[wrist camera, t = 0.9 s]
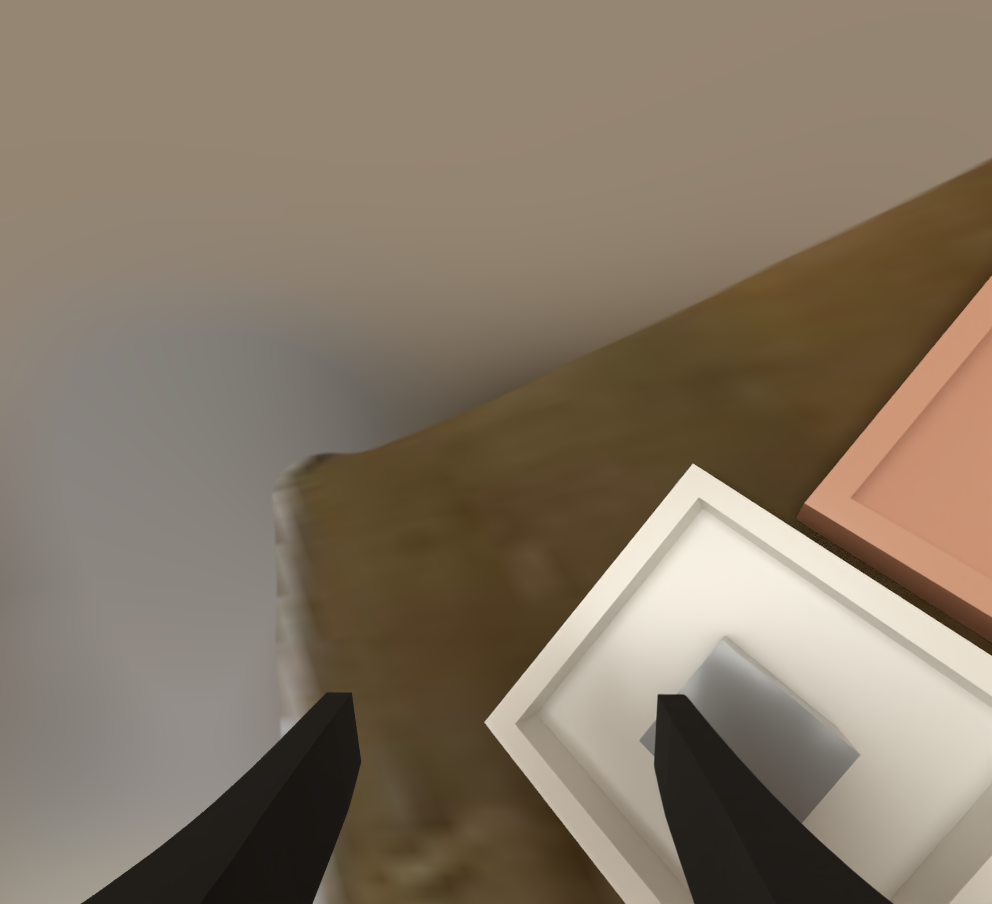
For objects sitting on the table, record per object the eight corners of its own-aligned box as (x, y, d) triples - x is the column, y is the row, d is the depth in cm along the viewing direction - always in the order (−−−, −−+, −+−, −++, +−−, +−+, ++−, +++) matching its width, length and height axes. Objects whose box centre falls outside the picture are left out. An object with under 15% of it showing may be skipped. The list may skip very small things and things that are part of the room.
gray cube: (837, 727, 18) (860, 755, 14) (757, 820, 18) (762, 869, 14) (725, 635, 20) (722, 639, 17) (656, 719, 20) (638, 740, 17)
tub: (1075, 732, 16) (1154, 760, 13) (798, 1046, 17) (811, 1141, 14) (699, 483, 23) (693, 463, 20) (516, 708, 24) (484, 722, 21)
